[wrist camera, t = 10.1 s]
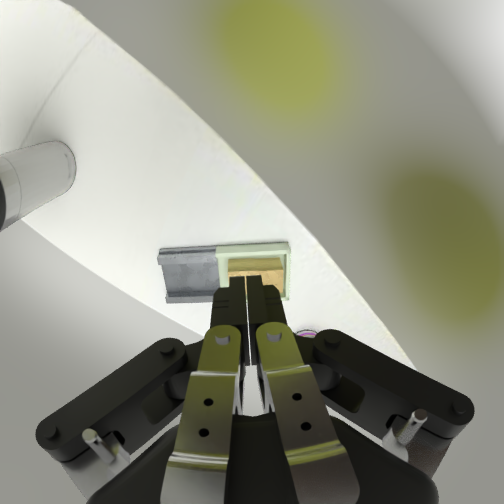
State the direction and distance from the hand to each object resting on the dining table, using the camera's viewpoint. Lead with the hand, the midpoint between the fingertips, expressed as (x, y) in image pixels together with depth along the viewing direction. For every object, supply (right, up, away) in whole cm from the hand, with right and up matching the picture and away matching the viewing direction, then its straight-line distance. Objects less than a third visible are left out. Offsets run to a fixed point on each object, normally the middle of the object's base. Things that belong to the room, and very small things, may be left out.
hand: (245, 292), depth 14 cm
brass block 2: (+3, -1, +32) cm, 32 cm away
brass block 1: (-1, -1, +32) cm, 32 cm away
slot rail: (-9, -1, +32) cm, 34 cm away
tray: (0, -1, +33) cm, 33 cm away
